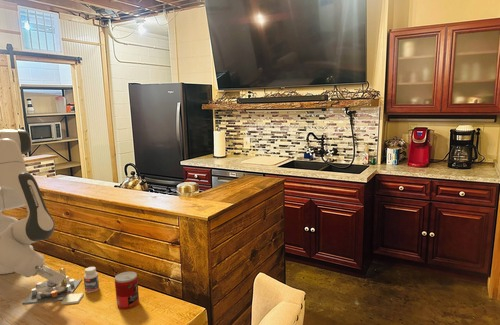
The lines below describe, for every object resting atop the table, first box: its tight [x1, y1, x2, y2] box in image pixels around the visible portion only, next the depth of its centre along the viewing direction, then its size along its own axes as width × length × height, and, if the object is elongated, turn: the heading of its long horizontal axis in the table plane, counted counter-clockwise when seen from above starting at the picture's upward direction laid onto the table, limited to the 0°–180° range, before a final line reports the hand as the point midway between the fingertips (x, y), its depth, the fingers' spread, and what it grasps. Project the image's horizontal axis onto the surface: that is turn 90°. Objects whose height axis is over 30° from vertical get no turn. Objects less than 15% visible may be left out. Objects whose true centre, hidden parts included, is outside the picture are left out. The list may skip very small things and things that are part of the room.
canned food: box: [114, 271, 140, 310], centre depth 129 cm, size 8×8×11 cm
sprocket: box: [31, 267, 75, 299], centre depth 140 cm, size 15×15×9 cm
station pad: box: [60, 292, 84, 306], centre depth 134 cm, size 6×6×1 cm
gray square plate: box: [22, 279, 82, 305], centre depth 141 cm, size 16×17×1 cm
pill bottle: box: [83, 266, 100, 293], centre depth 141 cm, size 5×5×9 cm
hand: (60, 279), depth 137 cm, fingers closed
